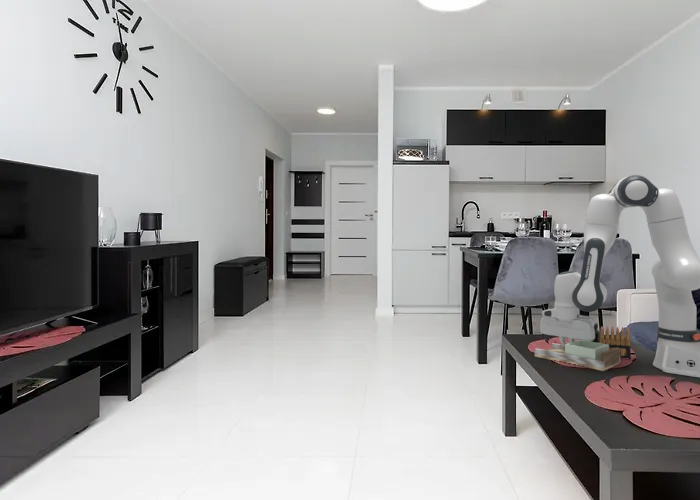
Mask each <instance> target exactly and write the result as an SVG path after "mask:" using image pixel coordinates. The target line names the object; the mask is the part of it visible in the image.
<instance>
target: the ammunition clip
mask: <svg viewBox="0 0 700 500" xmlns="http://www.w3.org/2000/svg"><path fill="white" fill-rule="evenodd" d="M610 328H611V329H609V326H606V328H605V331H604V327H603V325H602V326H600V330H599V331H600V343H602V344H608V345H609V350H611V349H614V348H616V347H617V348H619V355H620V356H621V358H629V359H628V360H631V359H632V356H631V354H632V353H631V351H632V350H631V333H630V332H631V331H630V328H629V327H627V328H626V331H625V328H624V327H621V331H620V329H619V327H618V326H617V327H616V329H614V326H611V327H610Z"/></svg>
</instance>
